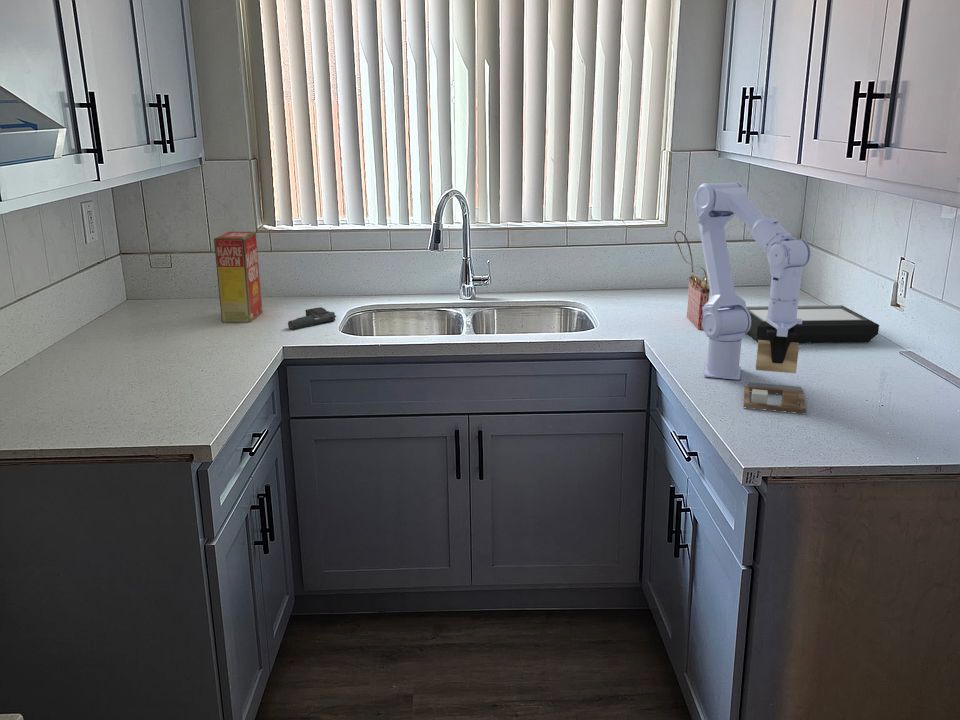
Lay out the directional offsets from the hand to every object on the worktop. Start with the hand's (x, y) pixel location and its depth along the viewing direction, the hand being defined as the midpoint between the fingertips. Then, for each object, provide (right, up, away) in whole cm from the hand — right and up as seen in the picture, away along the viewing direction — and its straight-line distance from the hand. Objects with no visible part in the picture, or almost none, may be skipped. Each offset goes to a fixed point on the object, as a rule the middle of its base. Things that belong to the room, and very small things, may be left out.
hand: (777, 360), depth 171 cm
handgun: (-114, +11, +67) cm, 133 cm away
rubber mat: (+2, -6, +7) cm, 10 cm away
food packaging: (-135, +13, +73) cm, 154 cm away
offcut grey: (-5, -9, -2) cm, 11 cm away
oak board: (0, -2, +1) cm, 2 cm away
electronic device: (+25, +7, +50) cm, 56 cm away
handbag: (-2, +11, +64) cm, 65 cm away
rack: (-1, -9, 0) cm, 9 cm away
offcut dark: (+1, -10, -3) cm, 11 cm away
